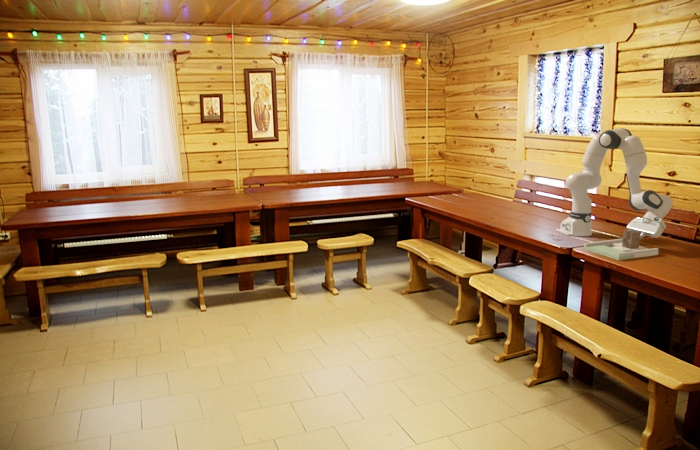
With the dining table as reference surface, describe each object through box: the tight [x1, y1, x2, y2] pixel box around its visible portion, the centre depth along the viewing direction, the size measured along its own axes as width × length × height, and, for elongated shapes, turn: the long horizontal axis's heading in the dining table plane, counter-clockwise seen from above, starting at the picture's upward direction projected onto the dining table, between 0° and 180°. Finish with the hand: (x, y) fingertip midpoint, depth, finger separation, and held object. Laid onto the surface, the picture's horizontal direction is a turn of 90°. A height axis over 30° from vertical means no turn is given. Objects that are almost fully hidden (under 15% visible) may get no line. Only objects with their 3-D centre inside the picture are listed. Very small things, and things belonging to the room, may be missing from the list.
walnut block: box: [622, 229, 641, 249], centre depth 321 cm, size 6×6×9 cm
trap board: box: [583, 238, 659, 261], centre depth 319 cm, size 25×28×4 cm
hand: (636, 239), depth 322 cm, fingers closed
